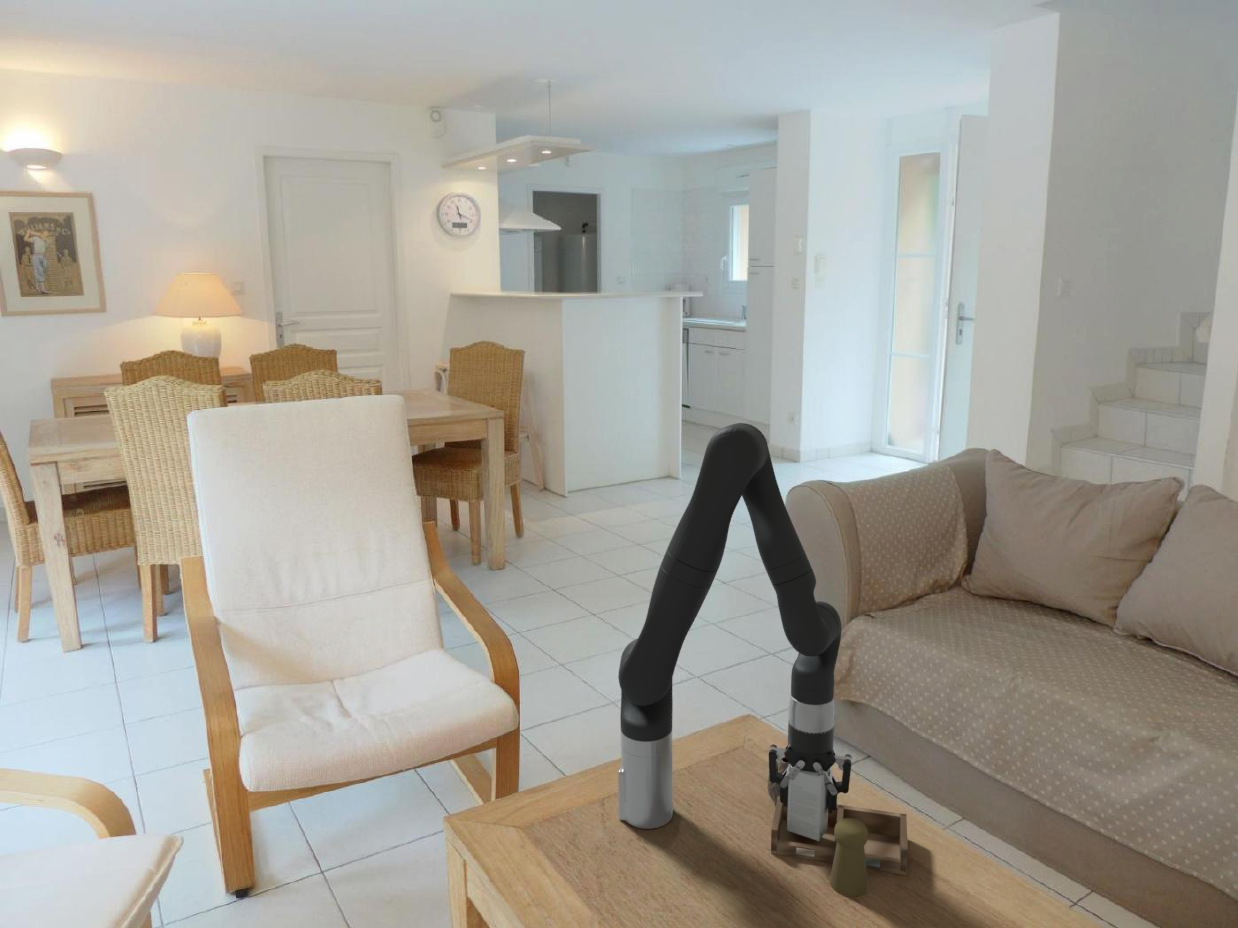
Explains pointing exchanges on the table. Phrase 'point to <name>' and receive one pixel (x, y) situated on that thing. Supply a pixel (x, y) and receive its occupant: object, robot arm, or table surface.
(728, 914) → the table surface
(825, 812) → the skincare box
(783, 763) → the vase
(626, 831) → the table surface
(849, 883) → the cork
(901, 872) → the slot rack
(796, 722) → the robot arm
